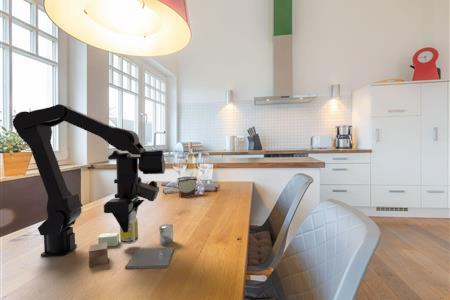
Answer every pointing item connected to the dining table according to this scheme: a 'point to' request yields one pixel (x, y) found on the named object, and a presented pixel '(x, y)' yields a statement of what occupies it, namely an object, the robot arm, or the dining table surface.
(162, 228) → the metal shaker
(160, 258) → the coaster
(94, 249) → the walnut block
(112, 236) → the sage box
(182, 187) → the food container
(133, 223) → the supplement bottle
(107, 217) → the dining table surface
